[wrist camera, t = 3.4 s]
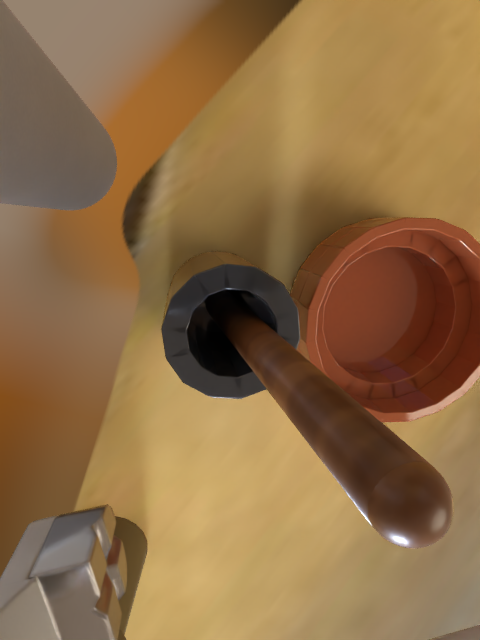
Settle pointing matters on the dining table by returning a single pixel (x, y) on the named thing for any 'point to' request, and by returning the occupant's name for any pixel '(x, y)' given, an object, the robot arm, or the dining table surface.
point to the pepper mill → (130, 565)
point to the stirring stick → (343, 434)
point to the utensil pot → (205, 335)
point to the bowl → (393, 314)
